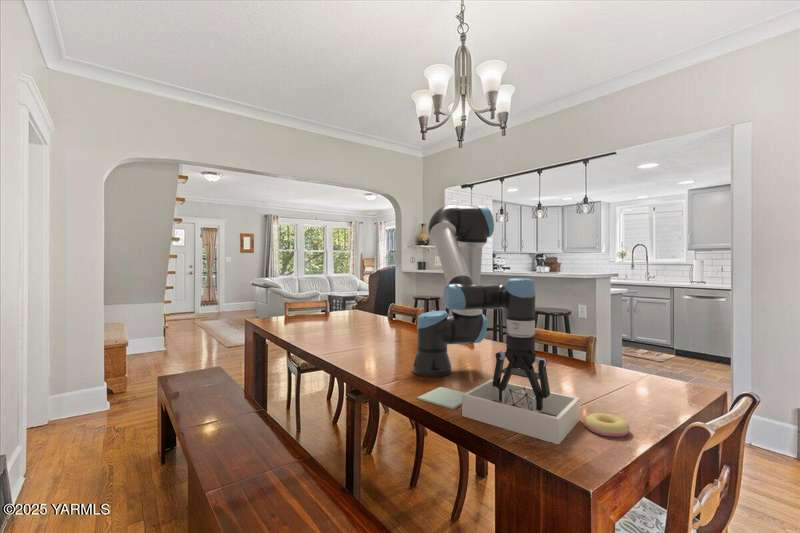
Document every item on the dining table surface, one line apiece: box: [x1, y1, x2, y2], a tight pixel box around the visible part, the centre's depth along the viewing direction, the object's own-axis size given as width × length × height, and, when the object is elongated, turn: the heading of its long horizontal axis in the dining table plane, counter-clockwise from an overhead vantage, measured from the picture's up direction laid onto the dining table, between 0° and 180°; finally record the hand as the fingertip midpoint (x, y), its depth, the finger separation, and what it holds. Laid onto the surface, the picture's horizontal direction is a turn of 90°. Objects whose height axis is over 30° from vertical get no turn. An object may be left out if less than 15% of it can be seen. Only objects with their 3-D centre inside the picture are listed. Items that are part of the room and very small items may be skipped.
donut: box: [584, 412, 630, 438], centre depth 97 cm, size 10×5×9 cm
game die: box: [506, 386, 533, 411], centre depth 104 cm, size 9×8×10 cm
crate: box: [461, 378, 581, 445], centre depth 104 cm, size 26×18×6 cm
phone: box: [502, 367, 540, 380], centre depth 146 cm, size 7×1×15 cm
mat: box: [417, 386, 465, 410], centre depth 120 cm, size 13×13×1 cm
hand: (520, 417), depth 104 cm, fingers closed on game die, 8 cm apart
